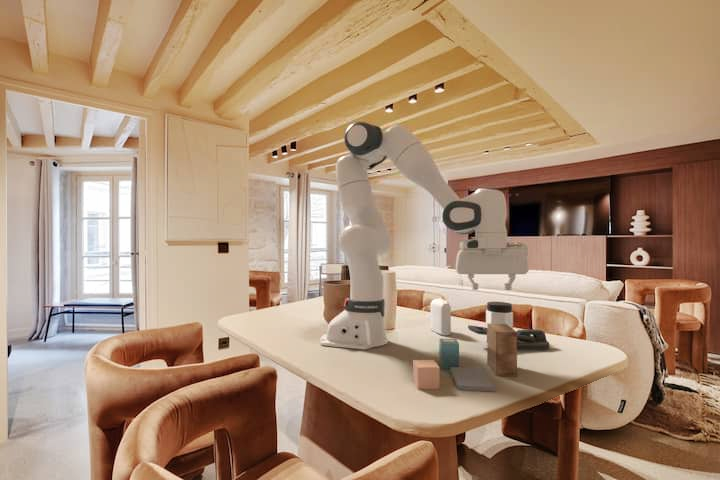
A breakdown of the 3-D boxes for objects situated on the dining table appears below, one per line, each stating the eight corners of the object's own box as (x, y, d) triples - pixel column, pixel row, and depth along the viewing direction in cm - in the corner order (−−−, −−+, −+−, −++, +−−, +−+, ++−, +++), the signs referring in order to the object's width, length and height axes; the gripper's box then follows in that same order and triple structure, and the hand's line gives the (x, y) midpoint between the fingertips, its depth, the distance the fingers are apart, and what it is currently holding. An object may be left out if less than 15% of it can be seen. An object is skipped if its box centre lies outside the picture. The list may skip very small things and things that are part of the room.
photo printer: (428, 329, 137) (429, 297, 137) (439, 329, 138) (439, 296, 138) (441, 336, 127) (441, 301, 127) (452, 335, 128) (452, 301, 128)
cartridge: (441, 370, 93) (441, 342, 93) (439, 364, 98) (439, 338, 98) (458, 370, 93) (459, 343, 93) (456, 364, 97) (456, 338, 97)
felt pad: (457, 389, 81) (457, 385, 81) (450, 370, 93) (450, 366, 93) (494, 391, 80) (494, 386, 80) (481, 372, 92) (482, 368, 92)
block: (417, 389, 81) (417, 367, 81) (412, 380, 86) (413, 360, 86) (439, 389, 81) (439, 367, 81) (433, 380, 86) (433, 359, 86)
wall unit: (496, 375, 89) (496, 331, 89) (486, 363, 99) (486, 323, 99) (517, 376, 89) (517, 332, 89) (506, 363, 98) (506, 323, 98)
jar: (516, 340, 122) (516, 305, 122) (493, 340, 121) (493, 305, 121) (504, 334, 131) (504, 301, 131) (482, 334, 130) (483, 301, 130)
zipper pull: (465, 324, 117) (536, 323, 120) (465, 344, 117) (536, 342, 120) (477, 331, 108) (553, 329, 111) (477, 353, 108) (553, 350, 111)
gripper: (523, 242, 107) (524, 288, 107) (454, 243, 110) (454, 288, 109) (531, 242, 101) (532, 291, 101) (457, 242, 103) (458, 290, 103)
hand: (491, 289), depth 105 cm, fingers open, 8 cm apart
